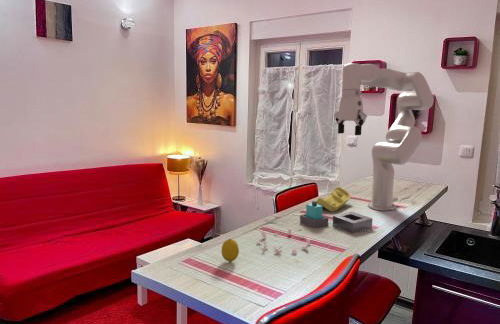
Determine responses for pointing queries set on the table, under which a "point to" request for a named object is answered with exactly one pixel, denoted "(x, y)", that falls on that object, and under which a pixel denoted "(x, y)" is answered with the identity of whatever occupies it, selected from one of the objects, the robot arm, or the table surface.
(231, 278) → the table surface
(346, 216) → the port
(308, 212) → the plug
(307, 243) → the game piece set
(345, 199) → the plastic component
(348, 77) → the robot arm
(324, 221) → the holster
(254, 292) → the table surface
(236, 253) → the lemon
